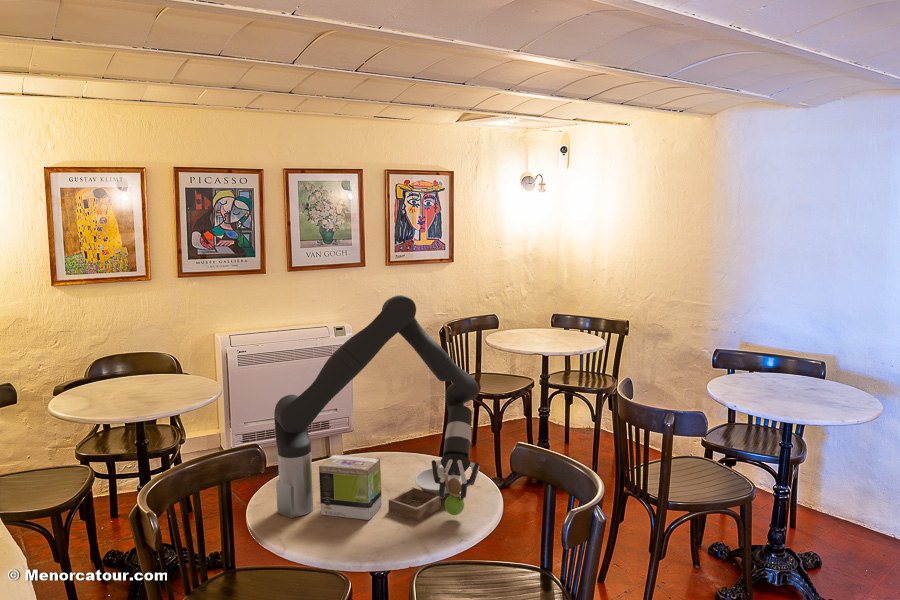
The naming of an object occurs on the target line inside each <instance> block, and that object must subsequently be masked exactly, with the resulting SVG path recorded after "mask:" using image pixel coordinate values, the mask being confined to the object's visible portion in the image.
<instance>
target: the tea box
mask: <svg viewBox="0 0 900 600" xmlns="http://www.w3.org/2000/svg"><path fill="white" fill-rule="evenodd" d="M381 472H382V471H381V458H380V457H370V456H357V455H347V454H345V455H344V454H332V455H331V456H330V457H329V458H328V459H326V460H325V461H323V462H322V463H321V464H319V466H318V477H319V500H320V501H319V502H320V514H321V515H322V516H332V517H338V518H340V517H341V518H349V519H357V520H359V519H360V520H367V521H370V520H371V518H372V517H374V515H375V514H376V513H377V512H378V511H379V509H380V508H381V507H382V478H381V477H382V474H381Z"/></svg>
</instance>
